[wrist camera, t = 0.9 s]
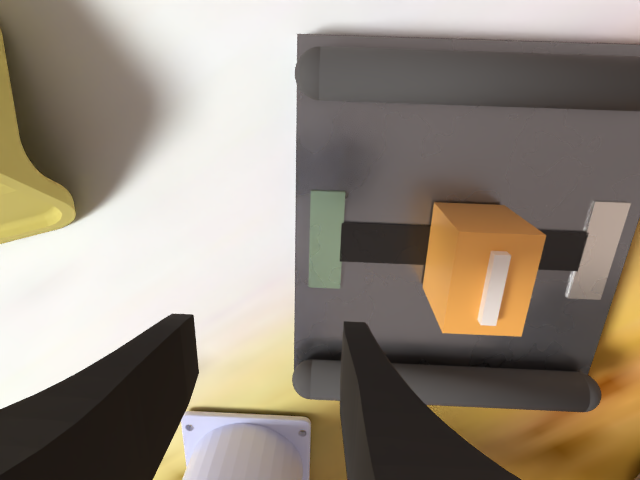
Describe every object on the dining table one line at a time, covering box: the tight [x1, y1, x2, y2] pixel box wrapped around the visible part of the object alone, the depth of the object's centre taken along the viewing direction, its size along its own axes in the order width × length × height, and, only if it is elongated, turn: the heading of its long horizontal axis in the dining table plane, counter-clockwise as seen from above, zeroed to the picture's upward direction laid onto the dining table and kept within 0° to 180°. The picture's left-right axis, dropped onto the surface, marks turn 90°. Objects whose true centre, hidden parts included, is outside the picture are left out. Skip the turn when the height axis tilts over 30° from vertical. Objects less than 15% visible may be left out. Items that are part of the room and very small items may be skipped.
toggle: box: [423, 202, 546, 337], centre depth 18 cm, size 4×3×4 cm
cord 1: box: [292, 359, 601, 412], centre depth 22 cm, size 2×16×2 cm, turn 88°
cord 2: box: [295, 46, 640, 111], centre depth 16 cm, size 2×16×2 cm, turn 89°
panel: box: [294, 34, 640, 375], centre depth 20 cm, size 18×16×1 cm
